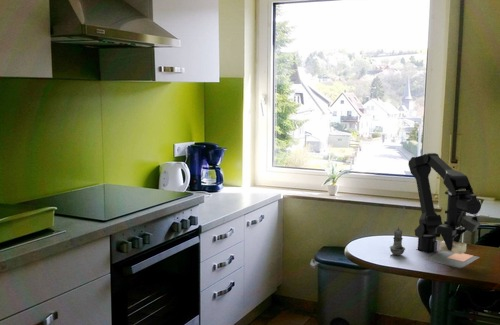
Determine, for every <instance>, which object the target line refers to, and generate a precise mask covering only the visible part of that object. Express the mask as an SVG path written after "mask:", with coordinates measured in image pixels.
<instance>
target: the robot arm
mask: <svg viewBox="0 0 500 325" xmlns="http://www.w3.org/2000/svg"><path fill="white" fill-rule="evenodd" d="M408 169H409V171H410V174H411V175H412V176H413V177H414V179H415V182H416V188H417V192H418V197H419V198H418V199H419V205H420V210H421V214H420V218H418V223H419V225H418V226H417V227H416V228H415V229H414V235H415V236H416V237H417V240H418V241H417V248H416V249H415V250H416V251H418V252H423V253H427V254H434V253H435V252H437V251H438V240H437V238H440V237H441V238H442V239H443V240H444V242H445V244H446V246H447V249H448V250H449V251H451V250H452V246H453V241H456V242H460V241H461V238H462V236H463V234H464V233H466V232H470V233H474V232H475V231H477V229H478V228H479V227H480V225H481V224H480V223H481V222H480V217H479V216H477V215H476V214H478V213H479V212H480V211H481V209H482V204H481V201H480V200H479V199H478V198H477V196H478V195H477V194H474V190H473V187H472V185H471V183H470V180H469V177H468V176H467V175H466V174H464V173H463V172H460V171H457V170H455V169H453V168H452V167H451V166H450V165H448V164H447V163H446V162H445V161H444V160H443V159H442V158H441V157H440V156H439V154H438V153H435V152H430V153H429V152H427V153H425V154H423V155H419V156H412V157H411V158H410V159H409V160H408ZM432 169H433V171H435V172H436V173H437V174H438V176H440V177H441V178H442V180H443V181H442V184H444V186H445V188H446V189H447V190H446V191H445V192H444V194H445V195H447V204H446V205H447V207H446V209H445V210H444V214H446V215H447V219H445V221H444V222H443V220H442V215H441V214H438V213H436V211H435V207H434V200H433V195H432V190H431V184H430V178H429V177H430V174H431V171H432ZM467 214H469V215H474V216H468V215H467ZM446 224H447V225H446ZM460 243H461V242H460Z"/></svg>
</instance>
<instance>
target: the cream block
mask: <svg viewBox="0 0 500 325" xmlns="http://www.w3.org/2000/svg"><path fill="white" fill-rule="evenodd" d="M439 251H447V252H452V253H456V254H462V253H464V254H465V253H466V252H467V243H464V242H456V241H453V246H452V250H451V251H449V250H448V249H447V246H446V244H445V242H444V239H443V240H442V241H439Z"/></svg>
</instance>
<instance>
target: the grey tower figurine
mask: <svg viewBox="0 0 500 325" xmlns="http://www.w3.org/2000/svg"><path fill="white" fill-rule="evenodd" d="M393 234H394V235H393V236H394V237H392V238H393V243H392V245H390V246H389V249H390V252H391V254H390V255H389V256H390V257H393V256H395V257H400V256H401V255H403V254H404V252H405V250H406V248H405V247H404V246H403V245H402V242H403V231H402V229H400V227H399V226H398V227H397V229H394V233H393Z"/></svg>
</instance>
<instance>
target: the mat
mask: <svg viewBox="0 0 500 325" xmlns="http://www.w3.org/2000/svg"><path fill="white" fill-rule="evenodd" d="M480 258H481V257H480V256H475V255H472V254H467V253H465V252H464V253H462V254H456V253H452V252H447V251H443V250H440V251H439V252H437V253H435V254H432V255H431V256H428V257H426V258H424V260H425V261H430V262H434V263H438V264H442V265H445V266H449V267H454V268H458V269H463V268H464V267H466V266H468V265H470V264H471V263H473V262H475V261H476V260H478V259H480Z"/></svg>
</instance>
